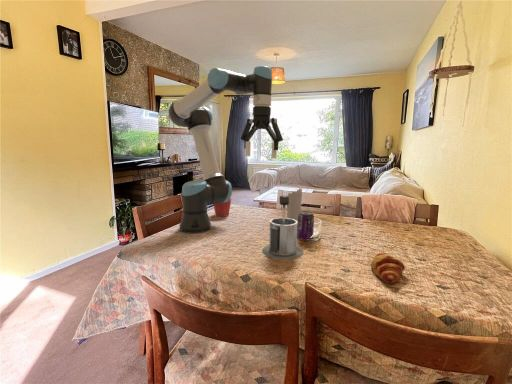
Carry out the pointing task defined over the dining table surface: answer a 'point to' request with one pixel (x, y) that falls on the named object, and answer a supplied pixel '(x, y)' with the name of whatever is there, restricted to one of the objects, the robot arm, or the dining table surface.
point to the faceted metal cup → (283, 237)
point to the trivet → (267, 253)
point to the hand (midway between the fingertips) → (260, 157)
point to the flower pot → (222, 208)
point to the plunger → (284, 201)
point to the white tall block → (294, 204)
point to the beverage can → (305, 225)
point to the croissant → (387, 267)
